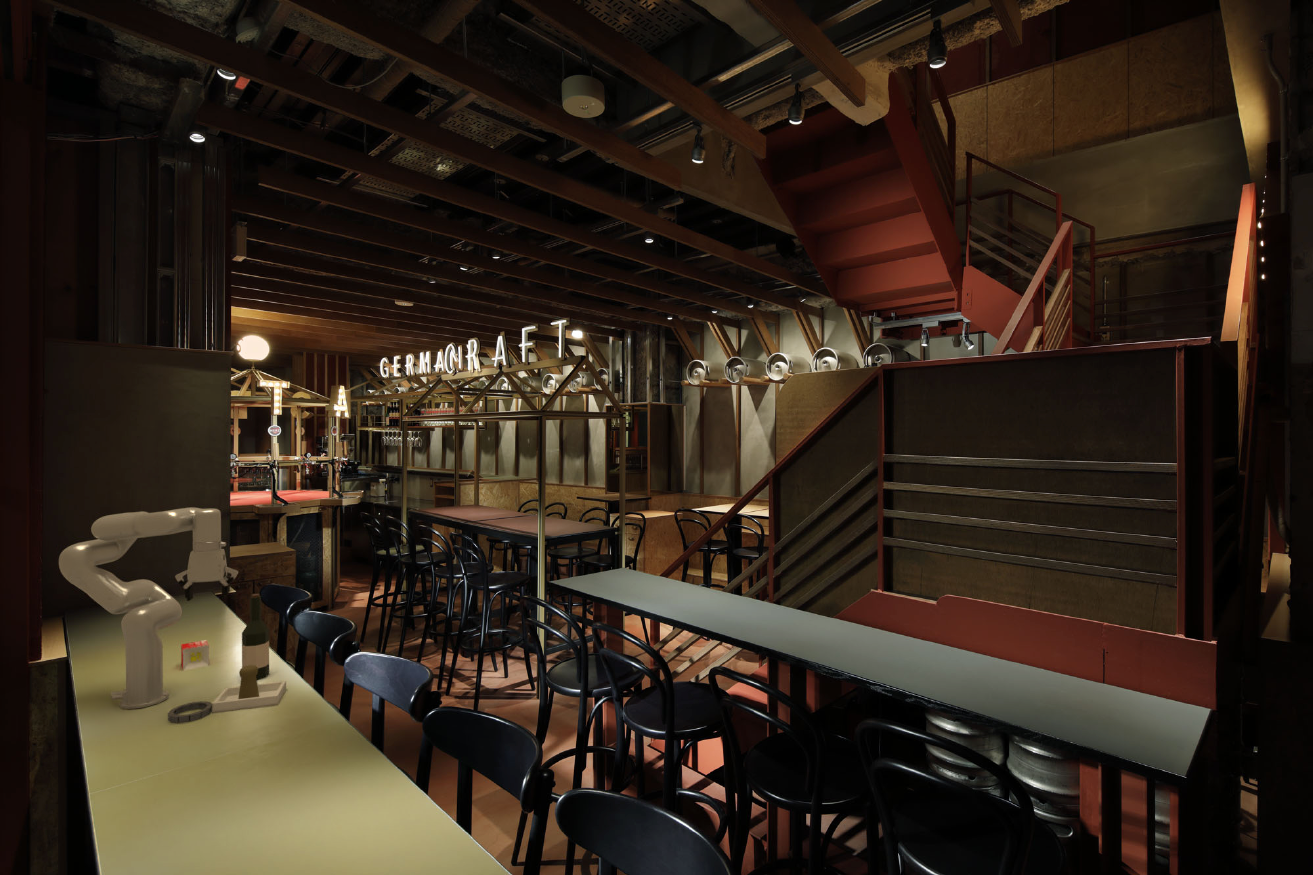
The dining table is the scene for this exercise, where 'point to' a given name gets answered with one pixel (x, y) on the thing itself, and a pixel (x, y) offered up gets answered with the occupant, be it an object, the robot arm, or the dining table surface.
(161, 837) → the dining table surface
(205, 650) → the small red white box
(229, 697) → the white rectangular tray
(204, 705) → the stone ring
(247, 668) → the cork
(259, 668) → the wine bottle
